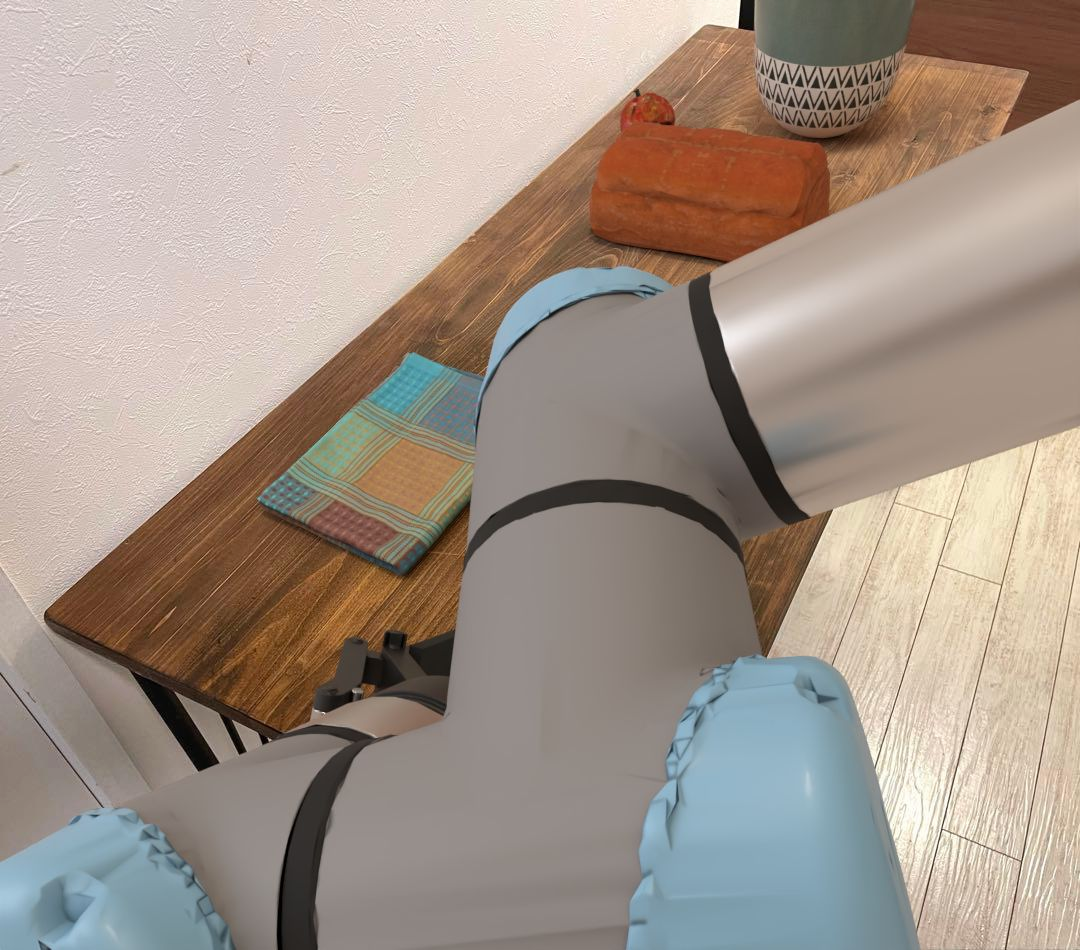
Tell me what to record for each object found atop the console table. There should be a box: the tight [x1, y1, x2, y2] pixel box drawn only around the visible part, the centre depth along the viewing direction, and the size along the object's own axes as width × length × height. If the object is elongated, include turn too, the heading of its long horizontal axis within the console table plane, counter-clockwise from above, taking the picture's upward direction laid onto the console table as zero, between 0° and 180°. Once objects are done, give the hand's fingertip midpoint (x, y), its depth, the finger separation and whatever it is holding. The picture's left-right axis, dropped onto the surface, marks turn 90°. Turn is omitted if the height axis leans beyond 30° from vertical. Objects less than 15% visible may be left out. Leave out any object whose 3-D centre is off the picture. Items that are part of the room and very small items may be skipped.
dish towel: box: [257, 352, 485, 577], centre depth 84 cm, size 17×23×2 cm
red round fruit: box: [619, 88, 676, 133], centre depth 124 cm, size 7×7×10 cm
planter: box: [753, 0, 918, 139], centre depth 118 cm, size 20×20×21 cm
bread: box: [588, 121, 831, 263], centre depth 106 cm, size 16×27×11 cm, turn 64°
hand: (571, 682), depth 51 cm, fingers open, 13 cm apart
